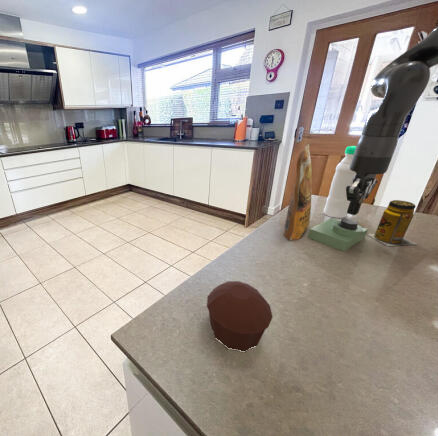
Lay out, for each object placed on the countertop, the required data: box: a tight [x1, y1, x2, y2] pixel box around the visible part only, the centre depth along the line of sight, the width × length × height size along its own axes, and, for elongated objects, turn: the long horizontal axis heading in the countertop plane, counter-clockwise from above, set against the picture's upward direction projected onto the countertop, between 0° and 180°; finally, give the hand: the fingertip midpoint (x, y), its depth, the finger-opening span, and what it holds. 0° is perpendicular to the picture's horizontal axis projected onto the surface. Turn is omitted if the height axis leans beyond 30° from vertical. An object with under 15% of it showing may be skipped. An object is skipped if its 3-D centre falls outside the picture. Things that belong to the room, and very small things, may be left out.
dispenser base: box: [307, 217, 369, 252], centre depth 73 cm, size 13×10×5 cm
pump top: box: [339, 218, 359, 230], centre depth 70 cm, size 4×4×2 cm
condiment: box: [367, 199, 417, 247], centre depth 69 cm, size 7×8×12 cm
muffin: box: [206, 280, 274, 352], centre depth 44 cm, size 12×11×10 cm
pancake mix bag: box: [283, 142, 313, 242], centre depth 74 cm, size 7×19×28 cm, turn 136°
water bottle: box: [323, 145, 357, 219], centre depth 83 cm, size 7×7×25 cm
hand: (352, 213), depth 68 cm, fingers closed
